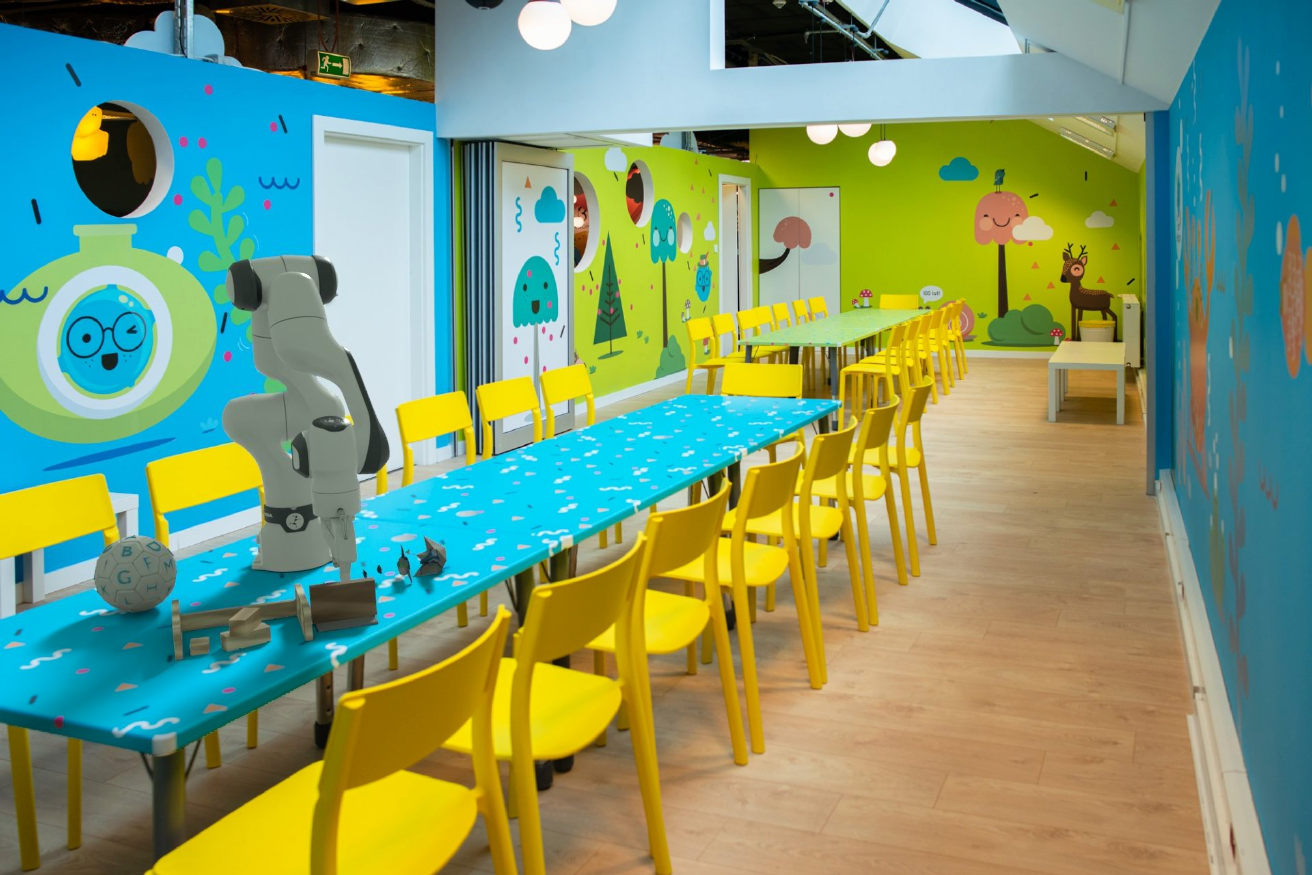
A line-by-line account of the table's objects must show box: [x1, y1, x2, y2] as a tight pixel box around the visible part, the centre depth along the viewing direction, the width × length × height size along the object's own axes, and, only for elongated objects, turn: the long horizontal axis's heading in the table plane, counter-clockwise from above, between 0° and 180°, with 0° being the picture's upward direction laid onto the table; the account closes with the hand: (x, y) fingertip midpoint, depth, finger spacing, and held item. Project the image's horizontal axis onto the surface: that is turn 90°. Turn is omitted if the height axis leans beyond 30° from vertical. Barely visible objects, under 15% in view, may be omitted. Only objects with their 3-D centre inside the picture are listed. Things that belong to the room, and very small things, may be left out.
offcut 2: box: [228, 608, 262, 637], centre depth 207 cm, size 3×7×3 cm, turn 178°
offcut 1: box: [189, 636, 210, 656], centre depth 205 cm, size 4×3×2 cm
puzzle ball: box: [93, 534, 178, 613], centre depth 227 cm, size 15×15×15 cm
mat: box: [314, 615, 379, 633], centre depth 220 cm, size 10×11×1 cm
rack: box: [171, 583, 314, 661], centre depth 212 cm, size 17×23×6 cm
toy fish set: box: [322, 544, 444, 584], centre depth 241 cm, size 11×25×9 cm, turn 123°
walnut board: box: [308, 576, 378, 625], centre depth 219 cm, size 2×12×7 cm, turn 113°
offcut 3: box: [219, 622, 272, 653], centre depth 208 cm, size 3×8×3 cm, turn 132°
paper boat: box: [404, 535, 447, 578], centre depth 252 cm, size 12×6×9 cm
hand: (341, 573), depth 219 cm, fingers open, 8 cm apart
